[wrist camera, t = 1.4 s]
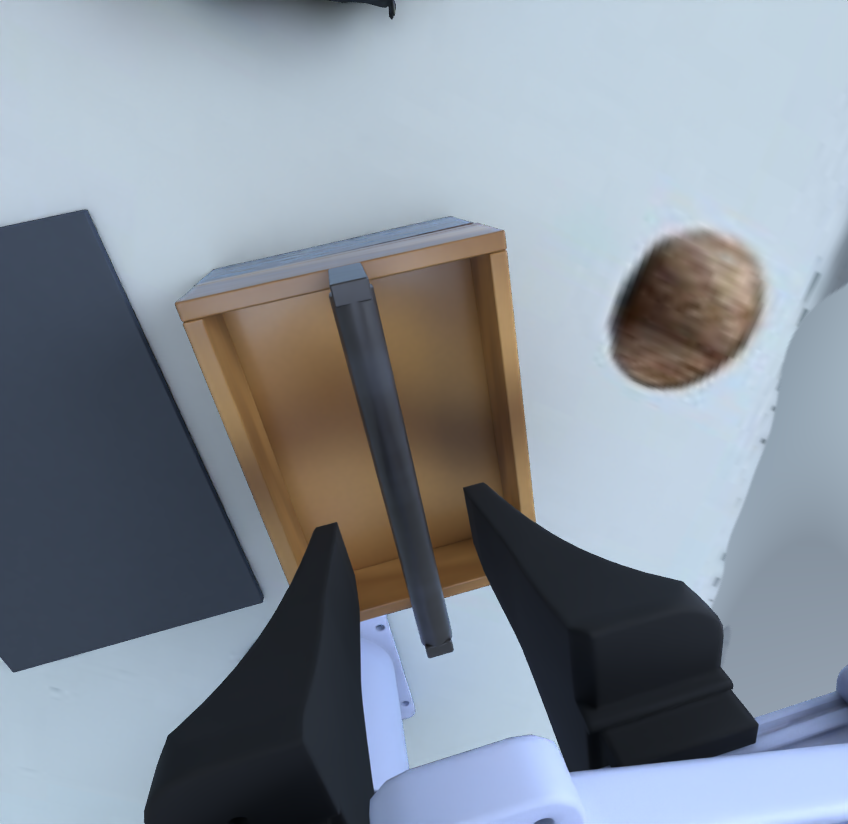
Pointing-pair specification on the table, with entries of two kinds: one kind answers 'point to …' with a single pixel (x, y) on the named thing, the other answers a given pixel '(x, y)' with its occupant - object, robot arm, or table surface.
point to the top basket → (374, 407)
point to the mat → (95, 464)
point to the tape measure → (376, 0)
